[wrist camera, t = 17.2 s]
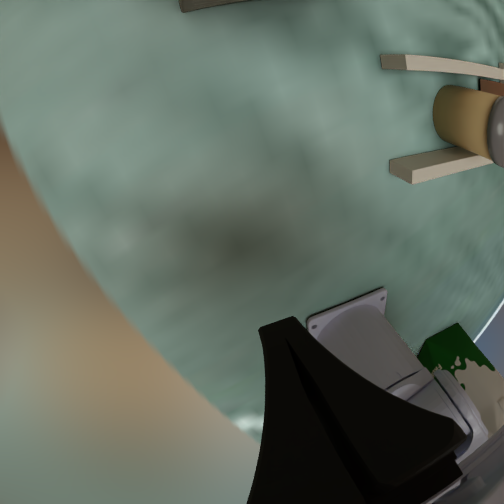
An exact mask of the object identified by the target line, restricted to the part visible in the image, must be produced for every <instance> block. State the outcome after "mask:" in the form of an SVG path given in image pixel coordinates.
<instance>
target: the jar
mask: <svg viewBox="0 0 504 504" xmlns="http://www.w3.org/2000/svg"><path fill="white" fill-rule="evenodd" d="M433 121H434V126H435V129H436V131H437V133H438V135H439V136H440V138H441V139H442V140H444V141H446V142H448V143H451V144H453V145H456V146H459V147H461V148H464V149H466V150H468V151H471V152H473V153H476V154H478V155H480V156H482V157H485V158H487V159H489V160H491V161H493V162H494V163H495V164H497V165H499V166H501V167H503V168H504V96H498V95H494V94H491V93H487V92H483V91H478V90H474V89H470V88H465V87H460V86H455V85H446V86H444V87H442V88H441V89H440V90H439V92H438V93H437V96H436V98H435V101H434V106H433Z"/></svg>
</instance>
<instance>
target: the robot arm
mask: <svg viewBox="0 0 504 504" xmlns="http://www.w3.org/2000/svg"><path fill="white" fill-rule="evenodd" d="M386 298H387V290H386V289H385V288H381V289H379V290H376V291H374V292H372V293H369V294H367V295H365V296H362V297H360V298H358V299H355V300H353V301H350V302H348V303H345V304H343V305H340V306H338V307H335V308H333V309H330V310H328V311H325V312H323V313H320V314H317V315H315V316H312V317H310V318H309V319H308V320H307V327H308V331H307V330H306V329H305V328H304V326H303V325H302V324H301V323H300V322H299V321H298V320H297V318H296V317H294V316H291V317H288V318H285V319H283V320H280V321H277V322H274V323H271V324H268V325H265V326H262V327H260V328H259V330H258V332H259V335H260V339H261V342H262V347H263V354H264V364H265V412H264V423H263V432H262V439H261V446H260V452H259V457H258V462H257V466H256V471H255V476H254V480H253V484H252V487H251V491H250V495H249V497H248V501H247V504H504V425H503V426H502V427H501V428H500V429H499V430H498V431H497V432H496V433H495V434H493V435H492V436H491V437H490V438H488V436H487V435H488V433H489V432H488V430H487V428H486V427H485V425H484V423H483V422H482V420H481V416H480V413H479V412H478V410H477V408H476V407H475V405H474V403H473V402H472V400H471V399H470V397H469V396H468V395H467V393H466V392H465V391H464V389H463V388H462V387H461V385H460V384H459V383H458V381H457V380H456V379H455V378H454V377H453V375H452V374H451V373H450V372H449V371H447V370H440V369H437V370H436V371H435V372H434V373H433V374H434V376H435V377H436V379H437V380H438V382H439V384H440V386H441V387H442V388H441V387H440V386H439V384H438V383H437V382H436V380H435V379H434V378H433V376H432V375H431V374H430V372H429V371H428V370H427V368H426V367H423V365H422V364H421V363H420V361H419V360H418V359H417V357H416V356H415V355H414V353H413V352H412V351H411V350H410V348H409V347H408V346H407V344H406V343H405V342H404V341H403V339H402V338H401V337H400V336H399V334H398V333H397V332H396V331H395V329H394V328H393V327H392V326H391V324H390V323H389V322H388V321H387V319H386V318H385V317H384V312H385V306H386ZM442 389H443V390H444V391H445V392H444V391H443V390H442ZM445 393H446V394H445ZM460 414H461V415H460Z"/></svg>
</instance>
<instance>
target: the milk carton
mask: <svg viewBox="0 0 504 504" xmlns="http://www.w3.org/2000/svg"><path fill="white" fill-rule="evenodd" d="M417 359H418V360H419V361H420V363H421V364H422V365H423V367H426V368H427V370H428V371H429V372H430V374H431V375H432V376H433V378H434V379H435V380H436V382H437V383H438V384H439V382H438V380H437V379H436V377H435V376H434V374H433V373H434V372H435V371H436V370H437V369H440V370H447V371H449V372H450V373H451V374H452V375H453V377H454V378H455V379H456V380H457V381H458V383H459V384H460V385H461V387H462V388H463V389H464V391H465V392H466V393H467V395H468V396H469V397H470V399H471V400H472V402H473V403H474V405H475V407H476V408H477V410H478V412H479V413H480V416H481V420H482V422H483V423H484V425H485V427H486V428H487V430H488V432H489V433H488V435H487V436H488V438H490V437H491V436H492V435H493V434H495V433H496V432H497V431H498V430H499V429H500V428H501V427H502V426H503V425H504V379H503V377H502V376H501V375H500V374H499V372H498V371H497V370H496V369H495V367H494V366H493V365H492V364H491V363H490V361H489V360H488V359H487V358H486V357H485V356H484V354H483V353H482V352H481V351H480V350H479V349H478V347H477V346H476V345H475V344H474V342H473V341H472V340H471V339H470V337H469V336H468V335H467V333H466V332H465V331H464V330H463V328H462V327H461V326H460V325H459V323H457V324H455V325H453V326H451V327H449V328H447V329H446V330H444V331H442V332H440V333H438V334H436V335H434V336H432V337H430V338H428V339H426V341H425V343H424V345H423V347H422V350H421V352H420V354H419V356H418V358H417ZM439 386H440V384H439ZM440 387H441V386H440ZM441 388H442V387H441ZM442 390H443V389H442ZM443 391H444V390H443ZM444 392H445V391H444ZM445 394H446V393H445ZM460 415H461V414H460Z"/></svg>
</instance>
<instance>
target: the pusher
mask: <svg viewBox="0 0 504 504" xmlns="http://www.w3.org/2000/svg"><path fill="white" fill-rule="evenodd" d="M480 85H481V91H483V92H487V93H491V94H494V95H498V96H504V84H503V83H499V82H495V81H490V80H484V79H480Z"/></svg>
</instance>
